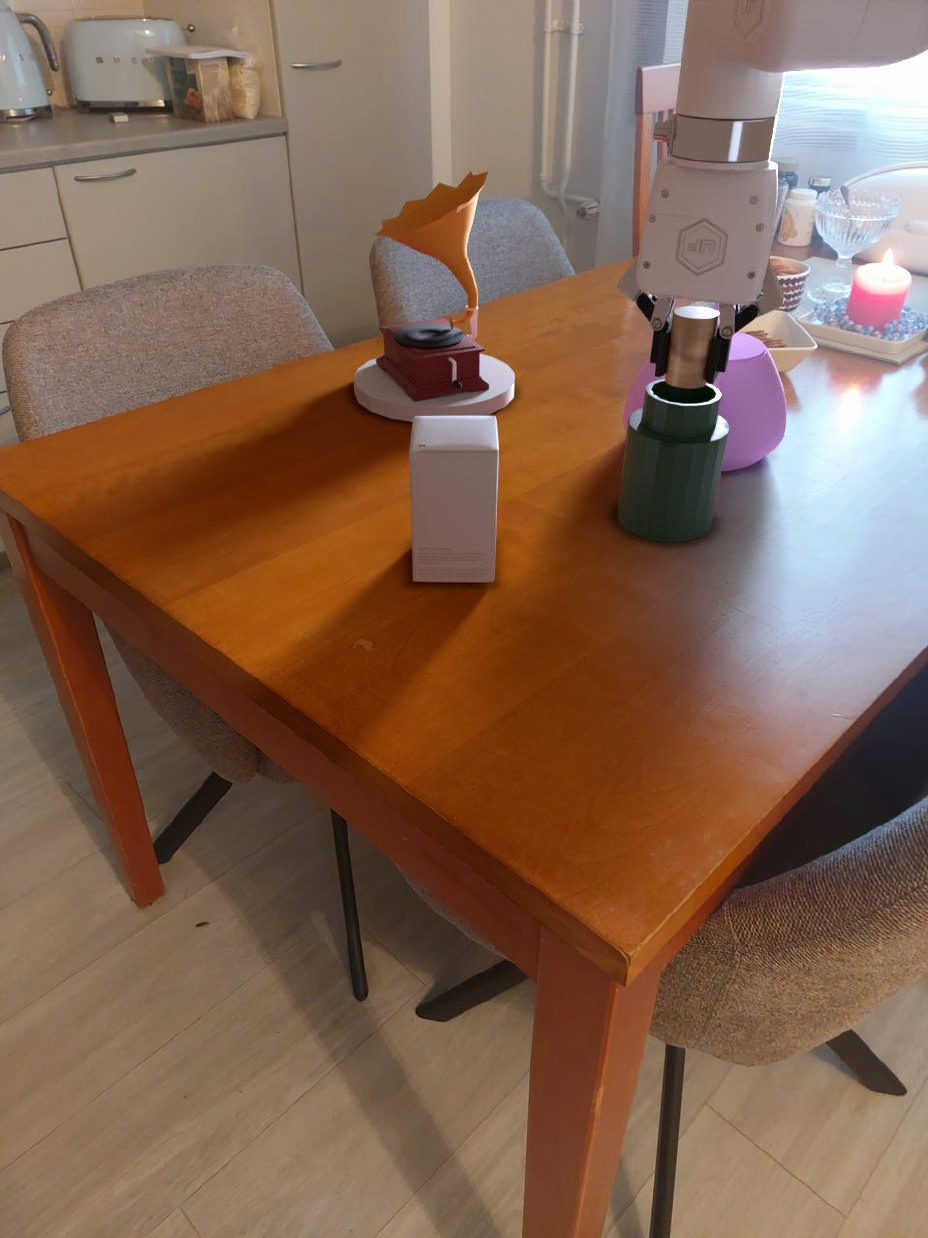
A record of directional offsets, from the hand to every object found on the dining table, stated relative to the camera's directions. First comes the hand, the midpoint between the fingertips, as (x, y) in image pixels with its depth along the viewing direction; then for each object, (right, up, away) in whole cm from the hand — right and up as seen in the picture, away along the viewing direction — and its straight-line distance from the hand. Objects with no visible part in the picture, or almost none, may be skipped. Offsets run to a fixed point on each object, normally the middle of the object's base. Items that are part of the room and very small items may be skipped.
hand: (686, 373), depth 79 cm
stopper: (0, -1, 0) cm, 1 cm away
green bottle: (0, -12, +9) cm, 15 cm away
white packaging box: (-20, -17, +2) cm, 27 cm away
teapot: (+7, -1, +24) cm, 25 cm away
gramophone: (-23, +7, +36) cm, 43 cm away
